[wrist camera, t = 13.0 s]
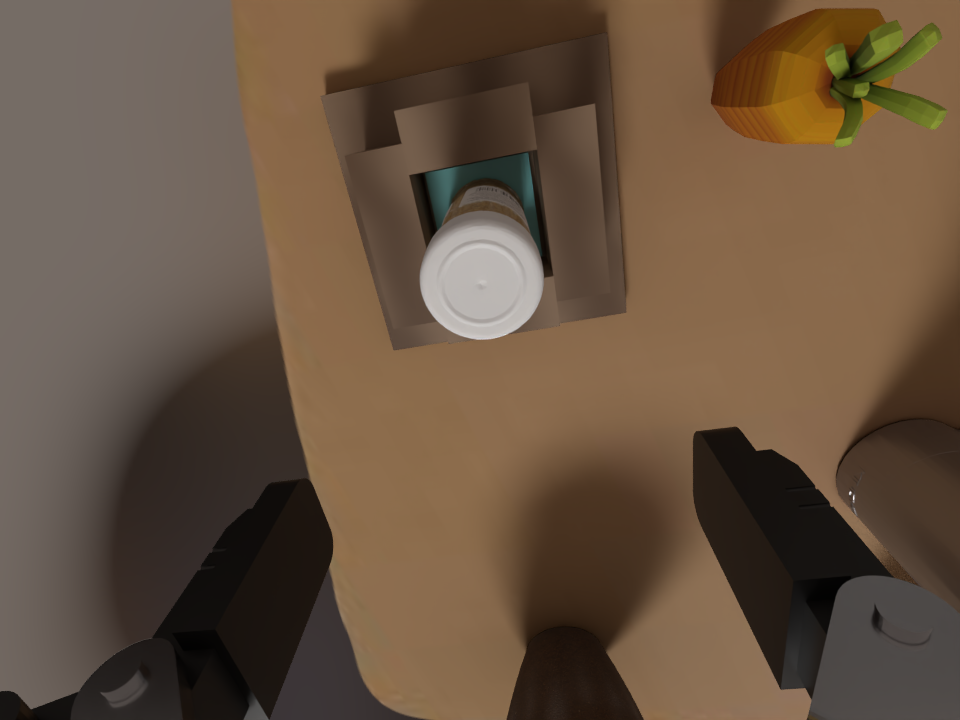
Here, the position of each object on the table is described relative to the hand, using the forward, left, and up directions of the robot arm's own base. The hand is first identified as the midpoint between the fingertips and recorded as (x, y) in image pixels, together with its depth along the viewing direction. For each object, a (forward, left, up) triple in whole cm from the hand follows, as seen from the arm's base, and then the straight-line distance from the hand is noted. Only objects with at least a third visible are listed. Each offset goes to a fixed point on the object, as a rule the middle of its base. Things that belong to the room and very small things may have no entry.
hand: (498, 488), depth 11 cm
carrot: (-14, -6, -25) cm, 29 cm away
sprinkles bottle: (0, -2, -23) cm, 23 cm away
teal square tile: (0, -2, -23) cm, 23 cm away
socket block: (0, -2, -24) cm, 24 cm away
